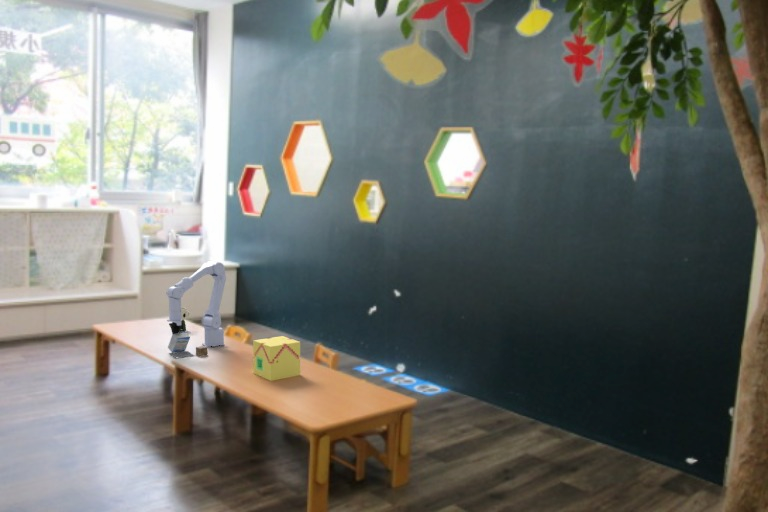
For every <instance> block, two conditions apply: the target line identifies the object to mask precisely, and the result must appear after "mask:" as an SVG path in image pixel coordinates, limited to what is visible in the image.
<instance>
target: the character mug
mask: <svg viewBox="0 0 768 512" xmlns="http://www.w3.org/2000/svg"><path fill="white" fill-rule="evenodd" d="M187 317H190V310H187V307H181V319H182V321H181V324H182V326H181V328H180V331H186V330H187V324H186V321H185V320H186V319H187ZM180 331H179V332H180Z"/></svg>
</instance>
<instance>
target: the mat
mask: <svg viewBox="0 0 768 512" xmlns="http://www.w3.org/2000/svg"><path fill="white" fill-rule="evenodd" d="M169 355H170V356H172V358H174V357H182V358H186V357H185V356H190V357H194V356H193V355H194V354H192V353H191V352H190V351H189V350H185V351H179V352H173V353H172V352H169Z"/></svg>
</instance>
